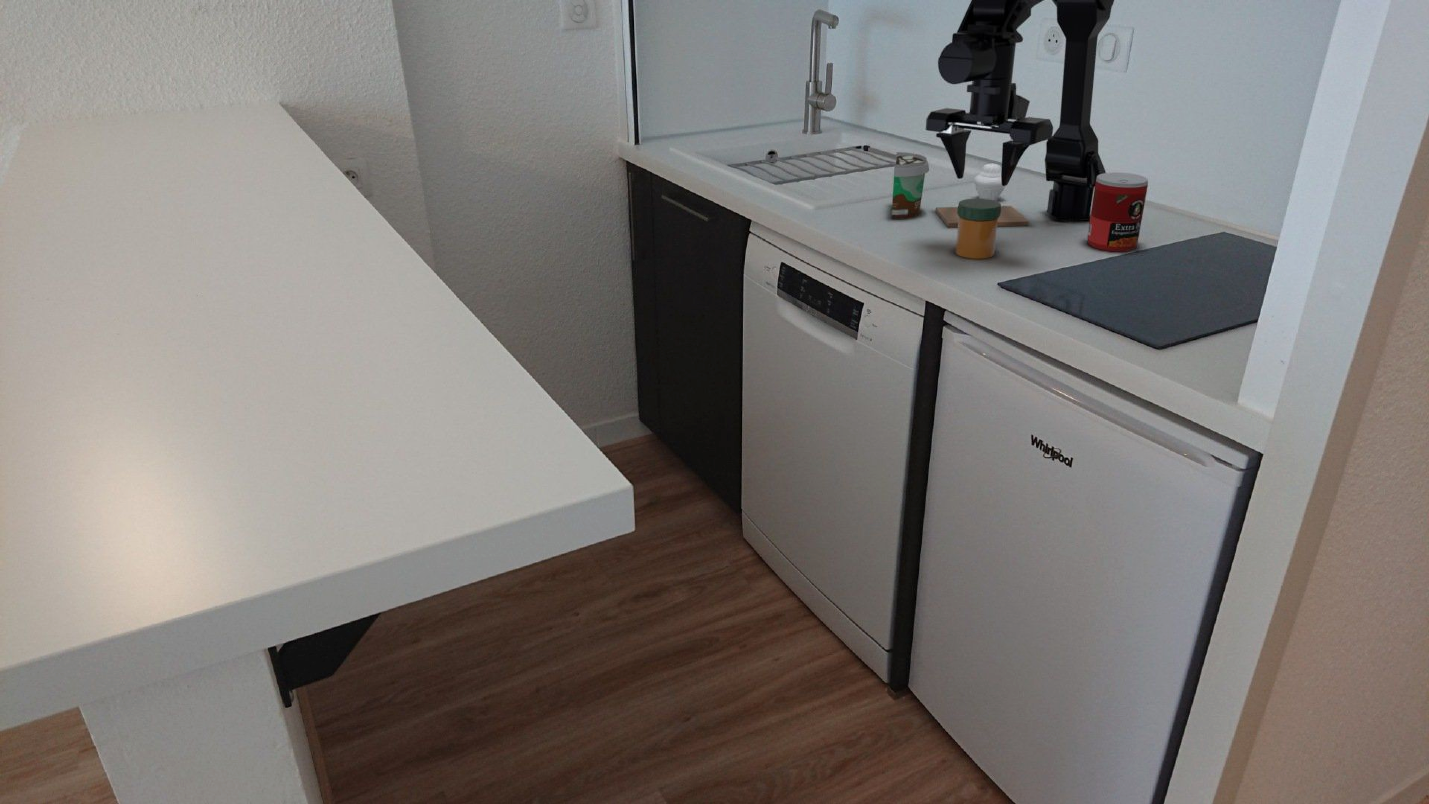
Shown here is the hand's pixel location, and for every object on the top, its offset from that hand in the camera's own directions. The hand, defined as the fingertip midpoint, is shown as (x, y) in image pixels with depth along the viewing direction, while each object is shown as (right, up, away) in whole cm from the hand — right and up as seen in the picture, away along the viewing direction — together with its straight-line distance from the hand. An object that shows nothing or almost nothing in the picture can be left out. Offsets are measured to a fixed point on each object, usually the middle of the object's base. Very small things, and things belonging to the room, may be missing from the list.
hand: (982, 181), depth 148 cm
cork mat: (+6, -1, +24) cm, 25 cm away
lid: (0, -3, +2) cm, 4 cm away
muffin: (+11, +5, +36) cm, 38 cm away
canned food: (+23, -9, +7) cm, 26 cm away
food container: (-6, +1, +29) cm, 29 cm away
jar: (0, -10, +5) cm, 12 cm away
